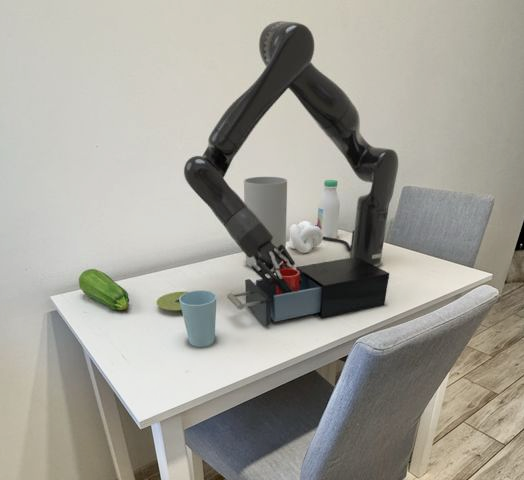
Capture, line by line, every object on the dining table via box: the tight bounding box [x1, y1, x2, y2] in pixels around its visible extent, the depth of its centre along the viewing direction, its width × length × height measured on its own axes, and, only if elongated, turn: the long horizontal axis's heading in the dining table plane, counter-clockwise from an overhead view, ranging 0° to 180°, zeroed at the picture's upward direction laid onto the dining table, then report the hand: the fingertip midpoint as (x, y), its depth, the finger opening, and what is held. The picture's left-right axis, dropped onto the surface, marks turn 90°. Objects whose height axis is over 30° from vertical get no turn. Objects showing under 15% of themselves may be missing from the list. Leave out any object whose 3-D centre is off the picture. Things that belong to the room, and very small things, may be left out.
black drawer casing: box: [295, 257, 390, 320], centre depth 107 cm, size 19×14×9 cm
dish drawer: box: [226, 273, 322, 327], centre depth 101 cm, size 23×12×7 cm, turn 114°
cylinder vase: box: [243, 176, 288, 268], centre depth 128 cm, size 12×12×25 cm
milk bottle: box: [316, 179, 341, 239], centre depth 154 cm, size 8×8×20 cm
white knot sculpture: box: [288, 220, 323, 254], centre depth 143 cm, size 11×12×9 cm
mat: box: [156, 291, 189, 311], centre depth 107 cm, size 11×11×2 cm
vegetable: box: [78, 268, 130, 311], centre depth 108 cm, size 7×7×20 cm
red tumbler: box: [276, 267, 300, 295], centre depth 100 cm, size 5×5×8 cm
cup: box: [179, 289, 218, 348], centre depth 90 cm, size 8×8×10 cm
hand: (294, 288), depth 100 cm, fingers closed on red tumbler, 5 cm apart
